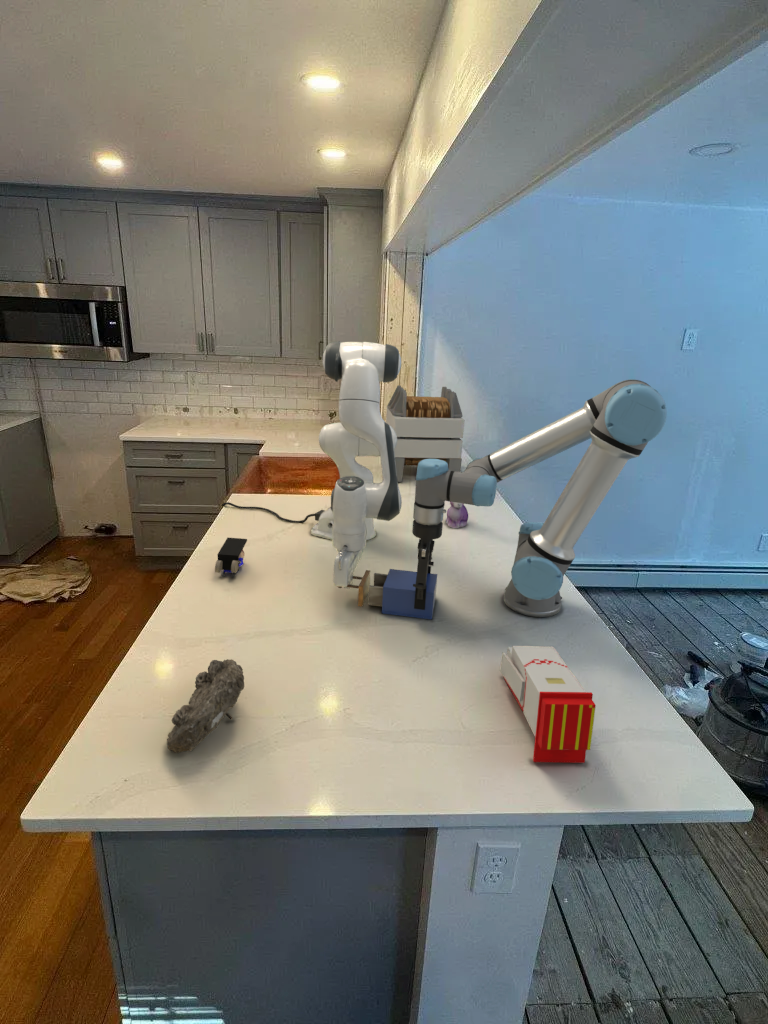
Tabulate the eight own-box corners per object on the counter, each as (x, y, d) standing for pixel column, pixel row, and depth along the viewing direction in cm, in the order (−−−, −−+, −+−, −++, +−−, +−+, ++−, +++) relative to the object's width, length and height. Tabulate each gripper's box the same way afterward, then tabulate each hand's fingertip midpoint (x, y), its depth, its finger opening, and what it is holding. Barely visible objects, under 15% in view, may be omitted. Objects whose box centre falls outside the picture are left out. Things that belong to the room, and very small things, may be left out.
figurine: (453, 530, 205) (457, 490, 200) (438, 521, 213) (441, 482, 208) (475, 527, 209) (479, 488, 204) (459, 517, 217) (462, 480, 212)
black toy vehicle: (238, 584, 162) (249, 557, 175) (236, 562, 158) (247, 536, 172) (215, 584, 161) (227, 556, 175) (212, 561, 158) (225, 535, 171)
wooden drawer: (335, 603, 149) (335, 583, 147) (343, 586, 158) (344, 567, 156) (402, 611, 147) (404, 591, 145) (407, 594, 156) (409, 574, 154)
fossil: (192, 660, 117) (244, 628, 112) (224, 691, 120) (276, 661, 115) (142, 746, 98) (202, 712, 93) (182, 779, 101) (242, 748, 96)
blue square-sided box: (381, 613, 147) (383, 586, 145) (388, 593, 158) (389, 568, 155) (431, 619, 146) (434, 592, 143) (435, 599, 156) (437, 574, 153)
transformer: (382, 463, 289) (386, 382, 275) (445, 464, 293) (451, 384, 279) (390, 482, 257) (394, 392, 243) (460, 483, 261) (468, 394, 247)
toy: (549, 628, 125) (605, 700, 96) (544, 683, 128) (596, 770, 99) (495, 627, 125) (534, 699, 95) (491, 683, 128) (527, 769, 98)
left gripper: (352, 556, 138) (351, 606, 143) (368, 526, 157) (366, 571, 162) (327, 553, 139) (326, 603, 144) (346, 524, 158) (345, 569, 163)
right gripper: (439, 539, 131) (432, 622, 139) (446, 507, 153) (439, 580, 160) (407, 535, 132) (401, 618, 140) (418, 504, 154) (413, 577, 161)
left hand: (348, 586), depth 153 cm, fingers closed, pressing on wooden drawer
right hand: (421, 597), depth 150 cm, fingers closed on blue square-sided box, 11 cm apart
